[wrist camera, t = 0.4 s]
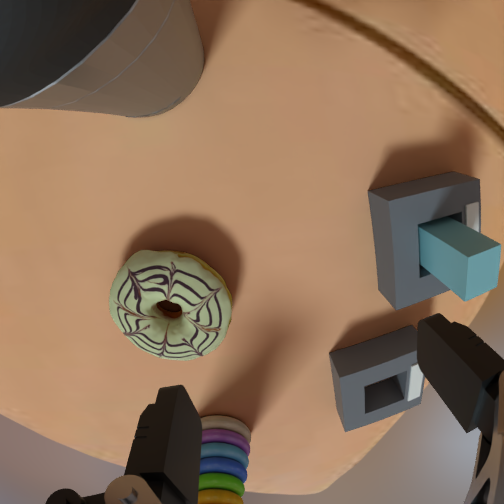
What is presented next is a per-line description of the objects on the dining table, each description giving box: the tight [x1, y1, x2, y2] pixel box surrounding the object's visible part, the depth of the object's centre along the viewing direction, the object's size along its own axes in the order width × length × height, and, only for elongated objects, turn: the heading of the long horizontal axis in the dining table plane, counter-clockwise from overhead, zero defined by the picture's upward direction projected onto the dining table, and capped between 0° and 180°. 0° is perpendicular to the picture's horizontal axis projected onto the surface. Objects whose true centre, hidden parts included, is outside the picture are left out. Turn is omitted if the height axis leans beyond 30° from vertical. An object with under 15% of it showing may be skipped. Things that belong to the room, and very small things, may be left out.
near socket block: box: [368, 172, 481, 310], centre depth 26 cm, size 10×10×4 cm
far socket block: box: [329, 325, 425, 432], centre depth 32 cm, size 10×10×4 cm
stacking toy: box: [198, 415, 251, 504], centre depth 27 cm, size 8×8×19 cm
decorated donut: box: [109, 250, 232, 361], centre depth 27 cm, size 10×11×4 cm
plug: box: [418, 216, 501, 301], centre depth 23 cm, size 4×4×10 cm
